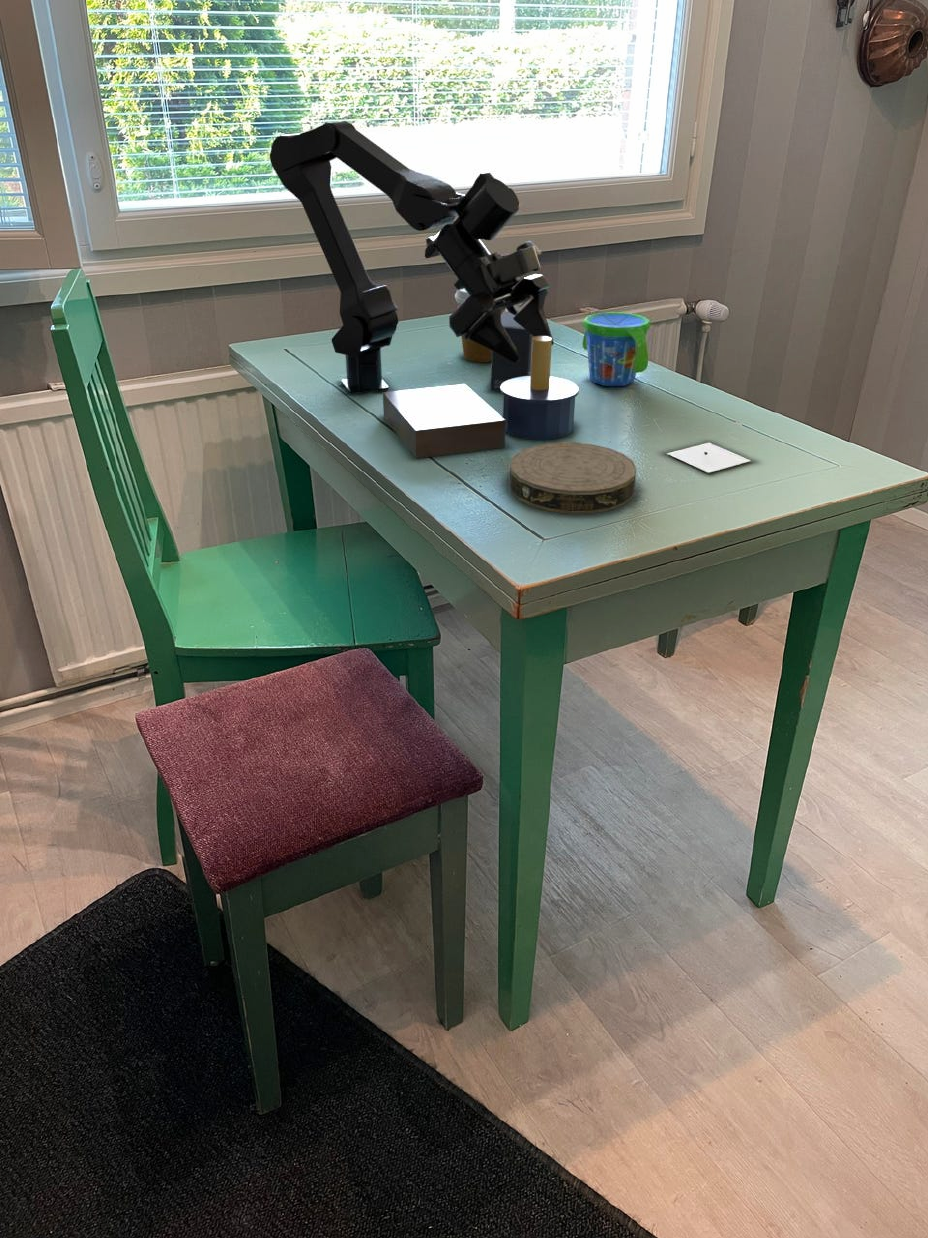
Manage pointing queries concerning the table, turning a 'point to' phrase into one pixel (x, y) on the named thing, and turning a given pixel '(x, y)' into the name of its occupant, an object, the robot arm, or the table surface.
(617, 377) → the snack cup
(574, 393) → the lid
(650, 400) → the table surface
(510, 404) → the tin
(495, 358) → the small box
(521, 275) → the robot arm
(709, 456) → the coaster
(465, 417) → the block
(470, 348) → the disposable coffee cup
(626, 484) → the brown flat disc
